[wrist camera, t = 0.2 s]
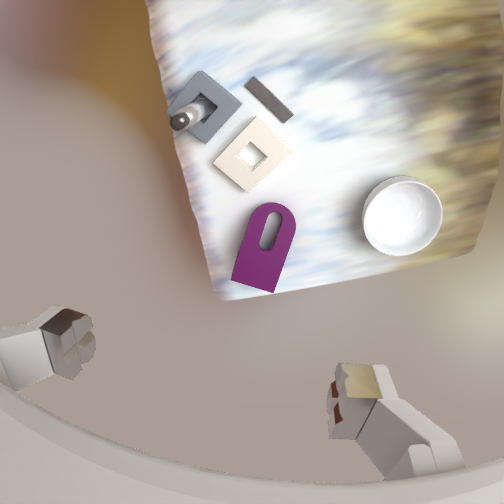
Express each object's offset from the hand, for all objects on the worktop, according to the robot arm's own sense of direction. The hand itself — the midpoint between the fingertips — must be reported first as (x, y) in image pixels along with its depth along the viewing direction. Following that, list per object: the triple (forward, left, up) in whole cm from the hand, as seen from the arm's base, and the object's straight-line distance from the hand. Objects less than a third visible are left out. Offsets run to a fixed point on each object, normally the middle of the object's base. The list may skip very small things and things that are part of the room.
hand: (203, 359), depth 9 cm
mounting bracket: (+23, +18, -52) cm, 60 cm away
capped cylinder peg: (+10, -10, -52) cm, 54 cm away
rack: (+11, +3, -52) cm, 53 cm away
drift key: (+1, -2, -52) cm, 52 cm away
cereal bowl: (-3, +31, -52) cm, 61 cm away
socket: (+10, -10, -52) cm, 54 cm away
